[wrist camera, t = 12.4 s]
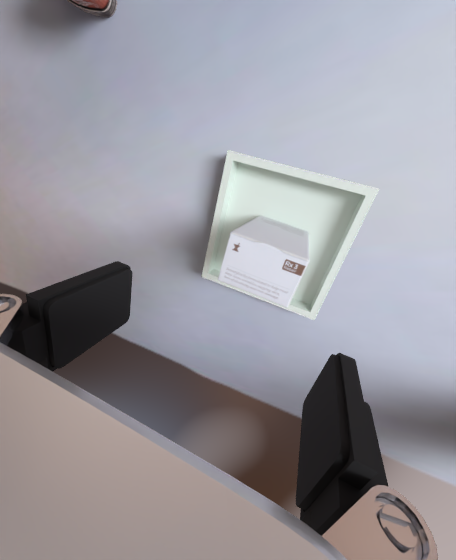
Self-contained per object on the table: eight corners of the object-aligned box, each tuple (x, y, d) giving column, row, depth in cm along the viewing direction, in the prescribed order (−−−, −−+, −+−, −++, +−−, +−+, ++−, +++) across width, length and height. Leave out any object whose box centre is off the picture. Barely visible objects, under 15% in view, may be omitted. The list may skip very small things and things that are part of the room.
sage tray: (373, 188, 23) (379, 189, 21) (314, 310, 30) (314, 320, 28) (234, 152, 26) (227, 150, 24) (208, 270, 33) (201, 276, 31)
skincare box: (249, 247, 29) (211, 283, 19) (260, 212, 27) (226, 229, 17) (297, 265, 28) (285, 314, 18) (312, 229, 26) (310, 260, 16)
